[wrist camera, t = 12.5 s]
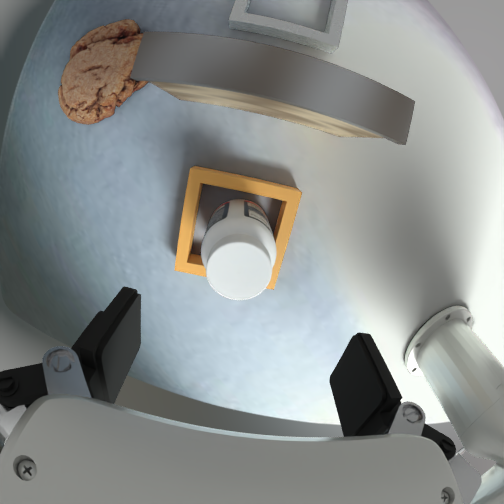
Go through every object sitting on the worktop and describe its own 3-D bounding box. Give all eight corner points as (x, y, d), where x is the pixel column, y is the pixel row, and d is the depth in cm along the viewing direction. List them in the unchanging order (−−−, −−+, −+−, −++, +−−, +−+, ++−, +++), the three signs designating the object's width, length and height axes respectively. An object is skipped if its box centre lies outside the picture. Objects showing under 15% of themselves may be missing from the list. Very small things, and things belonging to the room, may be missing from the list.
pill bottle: (213, 255, 26) (200, 311, 17) (206, 200, 24) (186, 234, 15) (270, 251, 26) (282, 306, 17) (267, 196, 24) (281, 227, 15)
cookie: (53, 116, 19) (36, 115, 17) (92, 22, 16) (78, 13, 13) (130, 136, 21) (116, 136, 18) (176, 32, 18) (168, 20, 15)
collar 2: (297, 188, 23) (302, 192, 21) (271, 279, 27) (273, 289, 25) (194, 165, 22) (190, 168, 20) (179, 260, 26) (174, 270, 24)
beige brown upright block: (345, 113, 21) (415, 101, 11) (339, 140, 22) (405, 144, 12) (186, 75, 19) (144, 31, 9) (178, 103, 20) (129, 77, 10)
